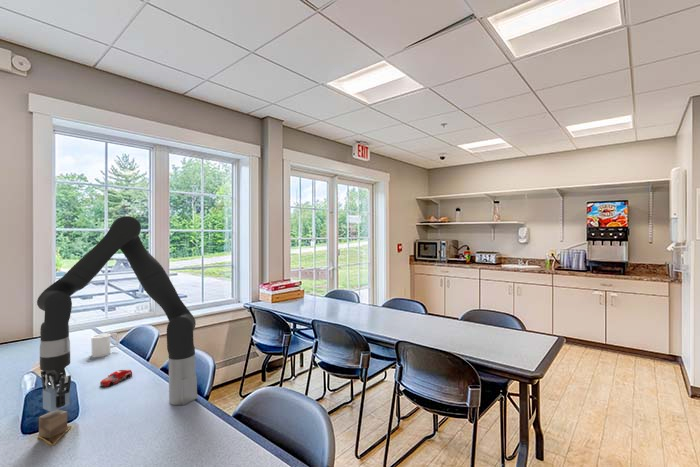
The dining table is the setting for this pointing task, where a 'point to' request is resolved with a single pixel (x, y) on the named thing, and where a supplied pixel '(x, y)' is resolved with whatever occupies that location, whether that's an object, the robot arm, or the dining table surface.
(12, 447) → the dining table surface
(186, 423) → the dining table surface
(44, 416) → the walnut block
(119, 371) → the race car
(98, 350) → the cup
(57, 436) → the shard
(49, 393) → the slate block
